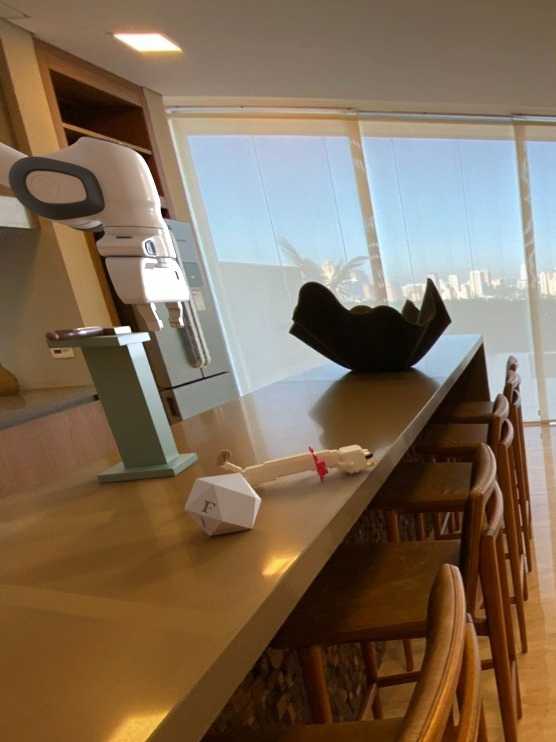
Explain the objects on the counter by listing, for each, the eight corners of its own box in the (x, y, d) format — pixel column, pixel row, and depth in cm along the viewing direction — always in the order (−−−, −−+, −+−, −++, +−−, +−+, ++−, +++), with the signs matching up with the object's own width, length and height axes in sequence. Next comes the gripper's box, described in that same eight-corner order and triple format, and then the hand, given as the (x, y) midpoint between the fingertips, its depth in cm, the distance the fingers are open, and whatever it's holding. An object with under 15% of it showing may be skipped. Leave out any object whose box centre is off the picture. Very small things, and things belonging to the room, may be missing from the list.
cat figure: (229, 508, 96) (383, 470, 108) (209, 459, 92) (370, 426, 104) (229, 492, 103) (372, 458, 116) (210, 446, 100) (360, 416, 112)
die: (186, 536, 84) (159, 498, 76) (225, 491, 89) (204, 451, 81) (244, 554, 85) (224, 519, 77) (279, 508, 90) (263, 471, 82)
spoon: (68, 341, 89) (64, 331, 89) (33, 342, 88) (28, 332, 87) (131, 332, 108) (128, 323, 108) (103, 333, 107) (100, 324, 106)
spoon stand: (95, 485, 104) (37, 339, 95) (130, 465, 116) (81, 333, 107) (172, 478, 108) (124, 336, 98) (198, 459, 120) (157, 331, 110)
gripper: (147, 250, 108) (170, 326, 113) (89, 243, 90) (120, 333, 95) (186, 250, 110) (207, 325, 115) (137, 243, 92) (165, 332, 97)
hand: (167, 329), depth 105 cm, fingers open, 8 cm apart
